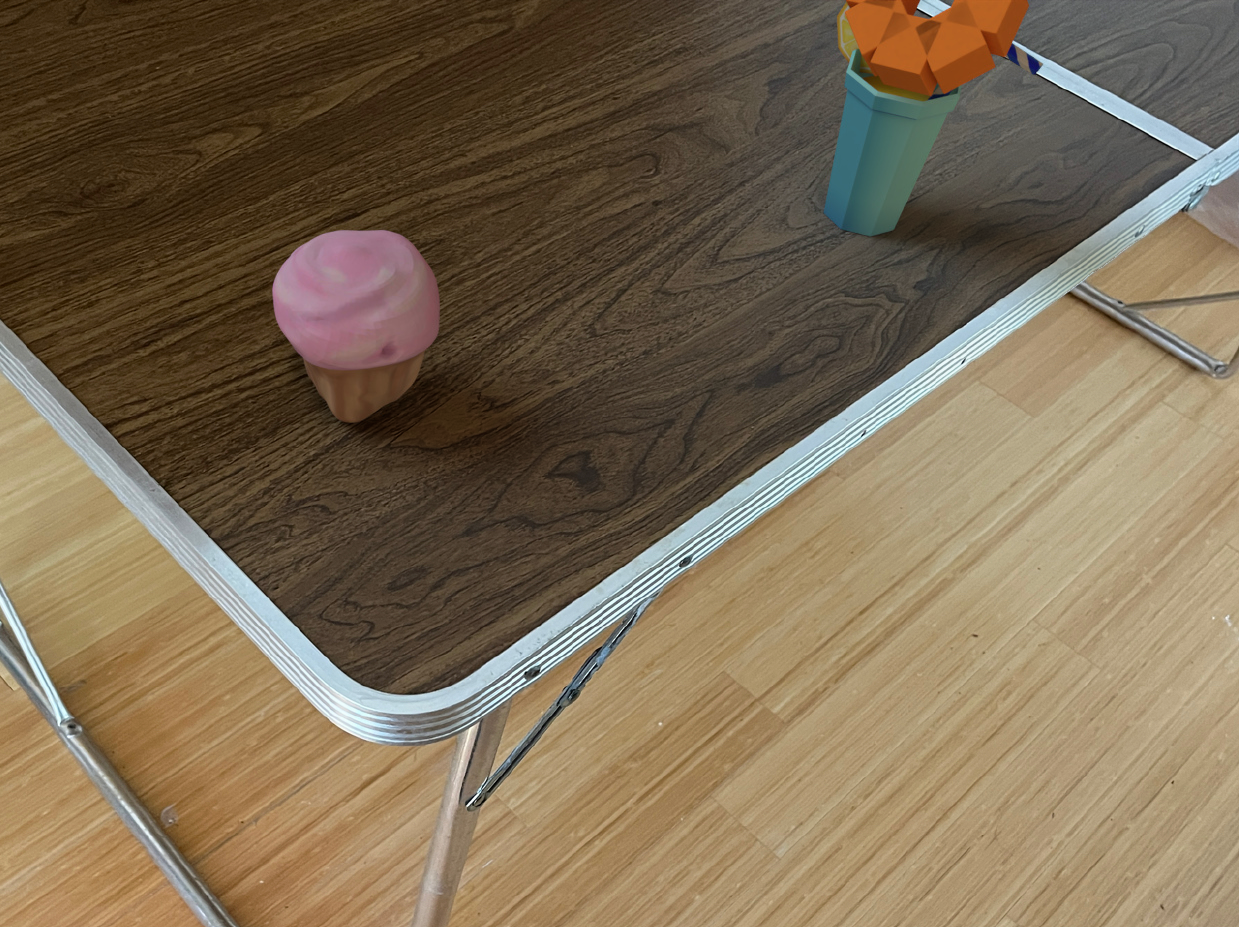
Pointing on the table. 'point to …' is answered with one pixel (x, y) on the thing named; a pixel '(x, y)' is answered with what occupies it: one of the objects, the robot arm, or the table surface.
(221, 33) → the table surface
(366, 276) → the cupcake
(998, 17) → the ring
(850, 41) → the cup
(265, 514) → the table surface
